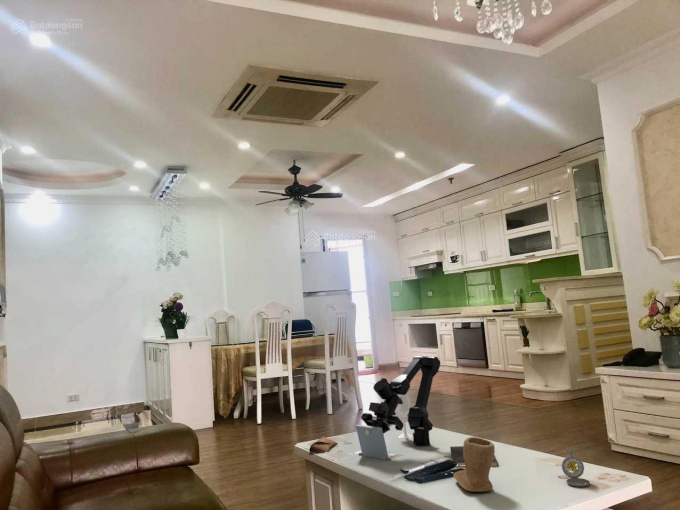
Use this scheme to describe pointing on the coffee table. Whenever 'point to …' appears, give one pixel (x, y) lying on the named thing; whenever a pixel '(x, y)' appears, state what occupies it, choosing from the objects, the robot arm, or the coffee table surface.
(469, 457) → the tan boot
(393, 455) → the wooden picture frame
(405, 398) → the champagne flute
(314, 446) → the sunglasses case
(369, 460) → the coffee table surface
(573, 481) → the pocket watch
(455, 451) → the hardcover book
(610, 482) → the coffee table surface
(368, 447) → the door
